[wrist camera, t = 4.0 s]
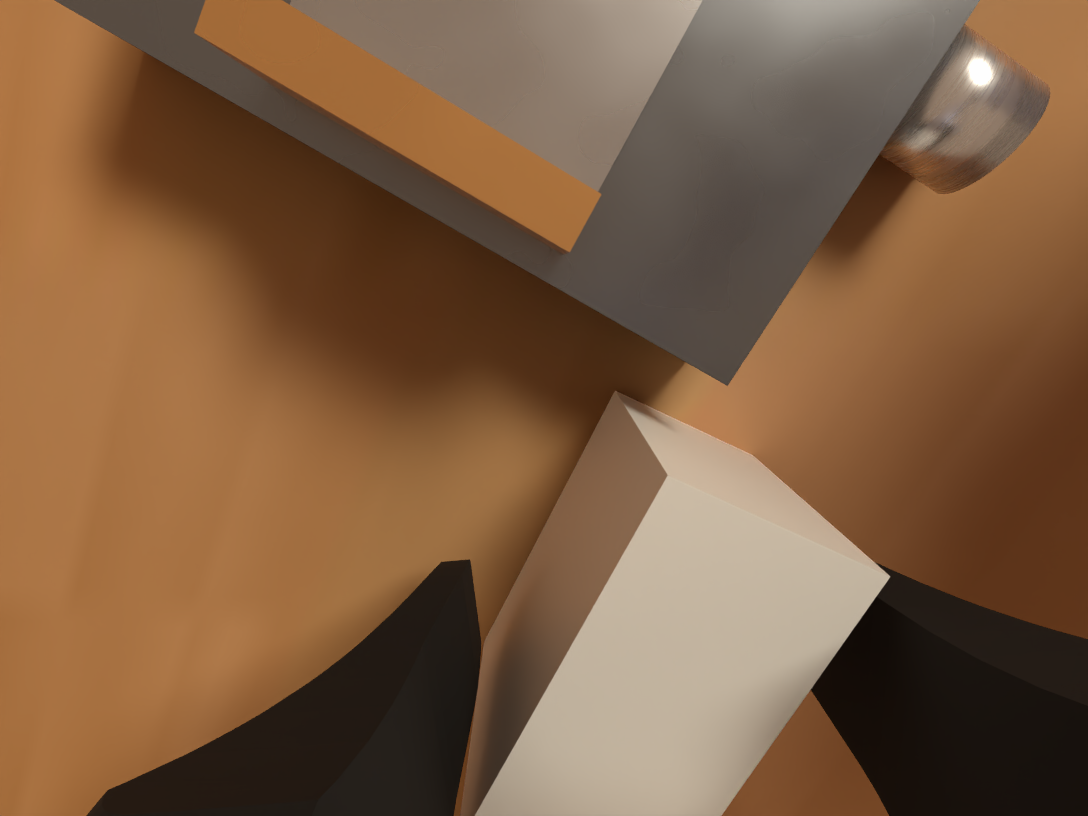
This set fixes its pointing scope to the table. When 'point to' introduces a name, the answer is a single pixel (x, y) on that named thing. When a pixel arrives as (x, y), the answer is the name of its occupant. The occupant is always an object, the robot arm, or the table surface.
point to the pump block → (658, 629)
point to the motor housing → (618, 127)
